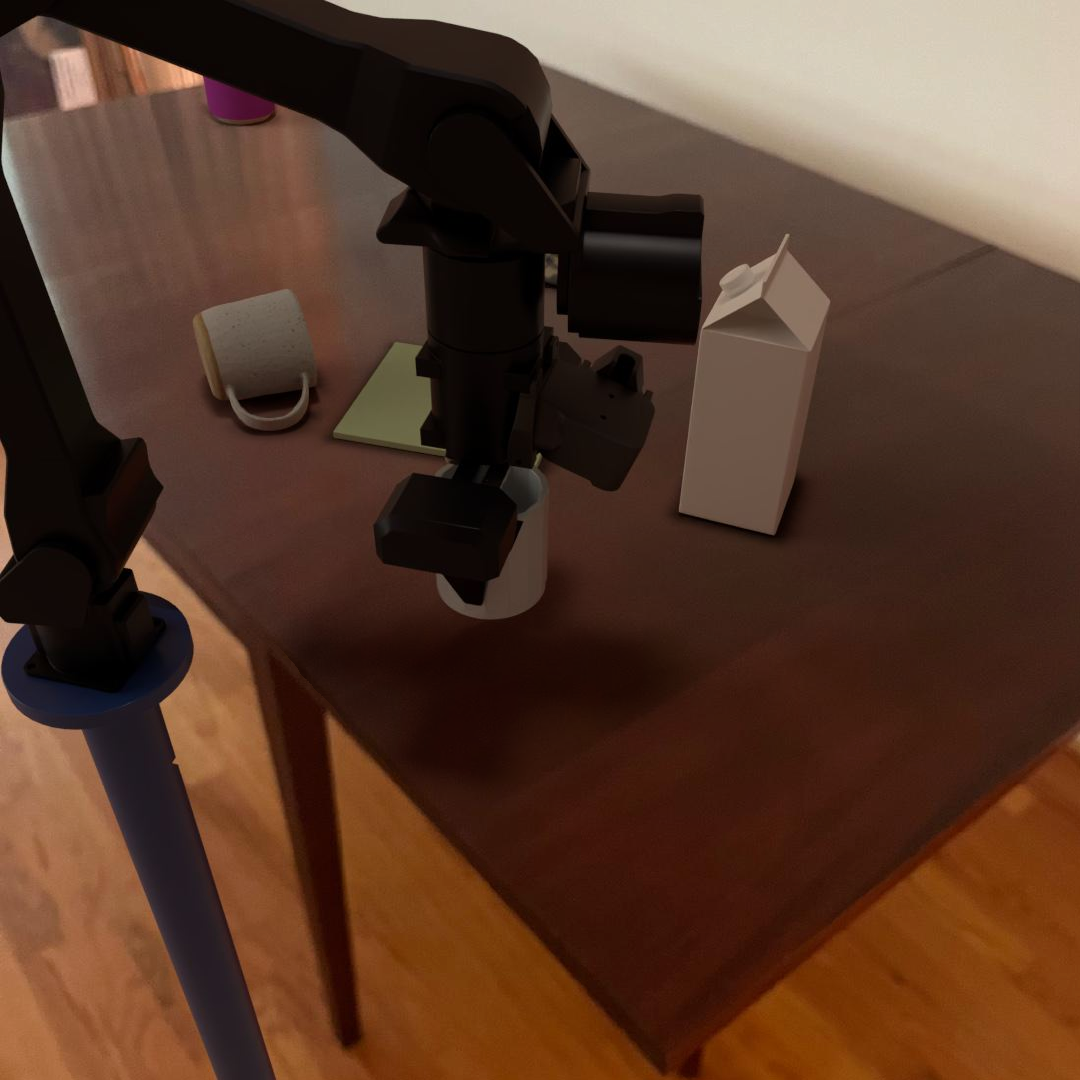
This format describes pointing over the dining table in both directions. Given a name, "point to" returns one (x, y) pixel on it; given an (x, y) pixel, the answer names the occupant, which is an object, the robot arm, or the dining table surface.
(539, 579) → the container
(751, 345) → the milk carton
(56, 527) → the robot arm
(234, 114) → the beverage can
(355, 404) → the mat
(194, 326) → the ceramic mug
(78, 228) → the dining table surface
